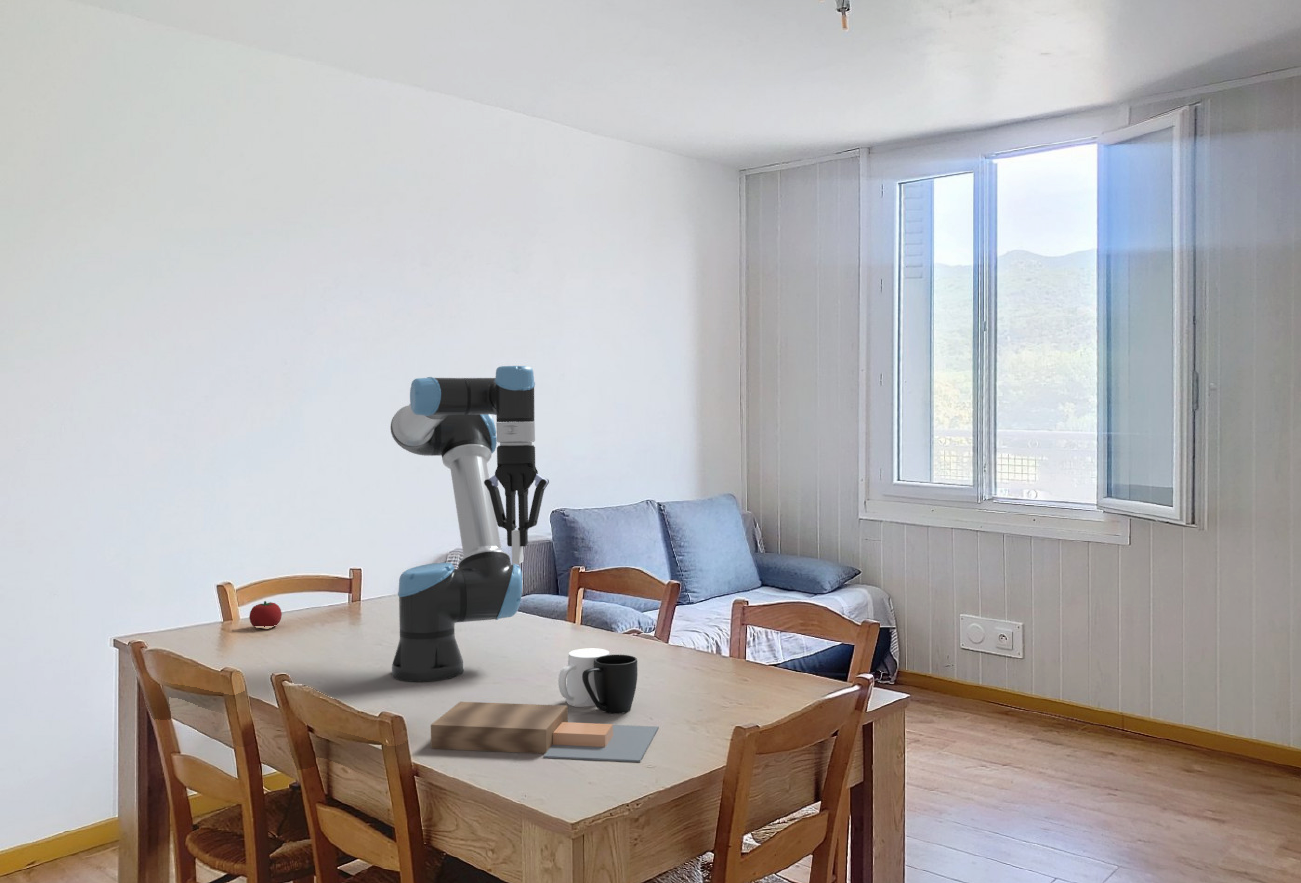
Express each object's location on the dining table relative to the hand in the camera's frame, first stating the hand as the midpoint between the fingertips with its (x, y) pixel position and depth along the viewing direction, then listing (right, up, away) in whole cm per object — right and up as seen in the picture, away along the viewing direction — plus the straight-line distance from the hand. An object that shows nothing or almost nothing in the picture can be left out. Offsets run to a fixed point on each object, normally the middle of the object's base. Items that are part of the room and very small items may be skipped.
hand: (517, 562), depth 206 cm
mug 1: (+14, -27, -5) cm, 30 cm away
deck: (+1, -27, -27) cm, 38 cm away
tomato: (-76, -26, +70) cm, 106 cm away
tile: (+15, -27, -29) cm, 42 cm away
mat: (+18, -27, -30) cm, 44 cm away
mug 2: (+19, -27, -12) cm, 34 cm away
